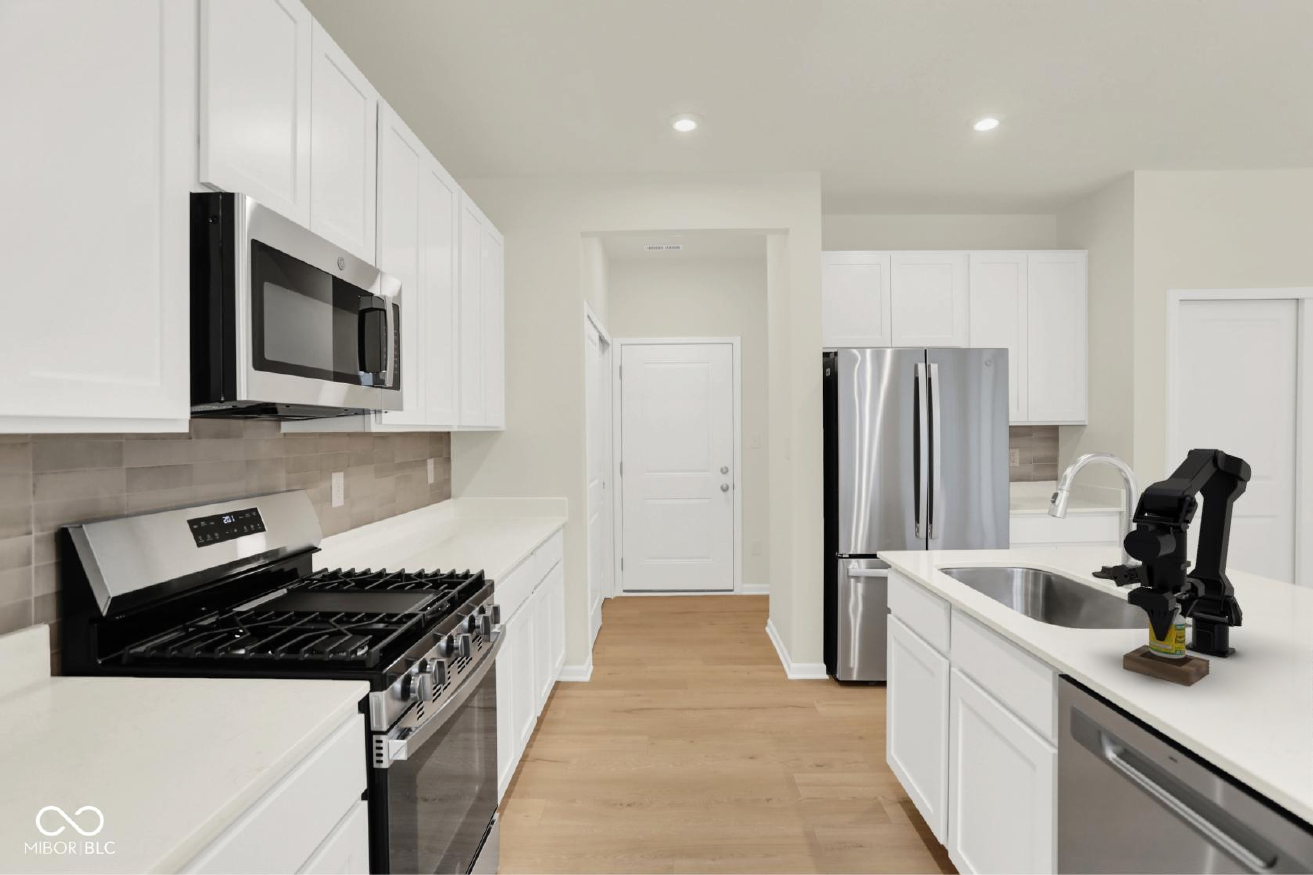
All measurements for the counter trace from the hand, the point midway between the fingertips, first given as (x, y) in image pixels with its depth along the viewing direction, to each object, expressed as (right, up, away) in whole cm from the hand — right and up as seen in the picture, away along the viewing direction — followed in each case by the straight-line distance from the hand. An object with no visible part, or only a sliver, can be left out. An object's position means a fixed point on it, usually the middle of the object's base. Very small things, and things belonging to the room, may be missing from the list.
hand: (1166, 637), depth 119 cm
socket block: (0, -6, 0) cm, 6 cm away
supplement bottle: (0, -3, 0) cm, 3 cm away
